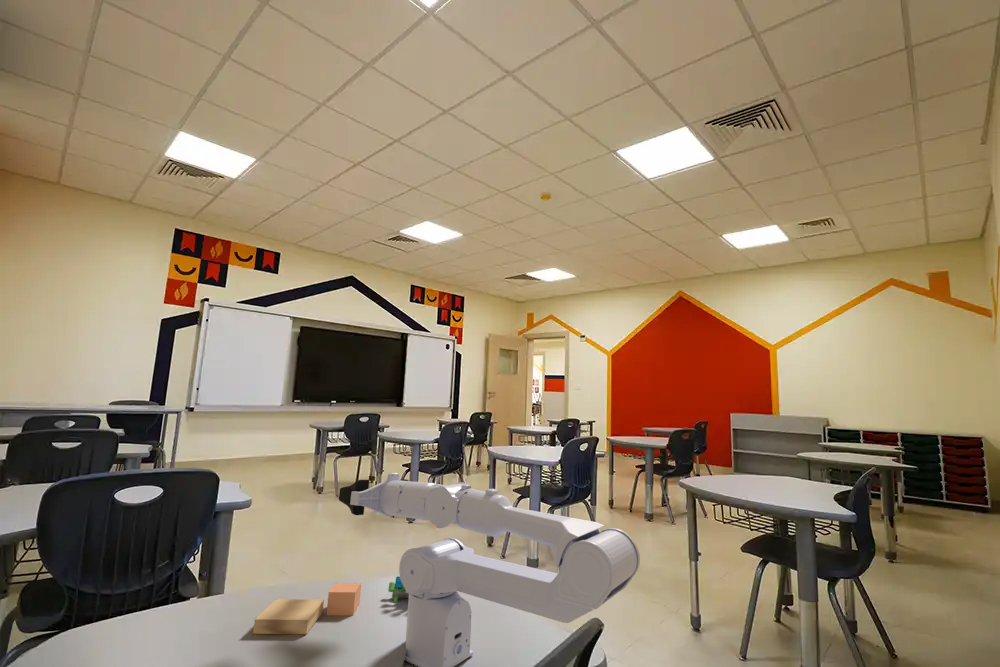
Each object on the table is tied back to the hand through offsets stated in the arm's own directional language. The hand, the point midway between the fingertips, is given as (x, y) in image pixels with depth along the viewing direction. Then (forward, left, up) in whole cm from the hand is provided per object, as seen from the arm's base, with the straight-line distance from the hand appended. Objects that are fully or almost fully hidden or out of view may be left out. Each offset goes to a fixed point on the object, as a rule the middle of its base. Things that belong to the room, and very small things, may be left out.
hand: (358, 493), depth 84 cm
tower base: (+2, +10, -21) cm, 24 cm away
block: (0, +1, -21) cm, 21 cm away
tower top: (+2, +10, -19) cm, 22 cm away
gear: (-6, -11, -21) cm, 24 cm away
